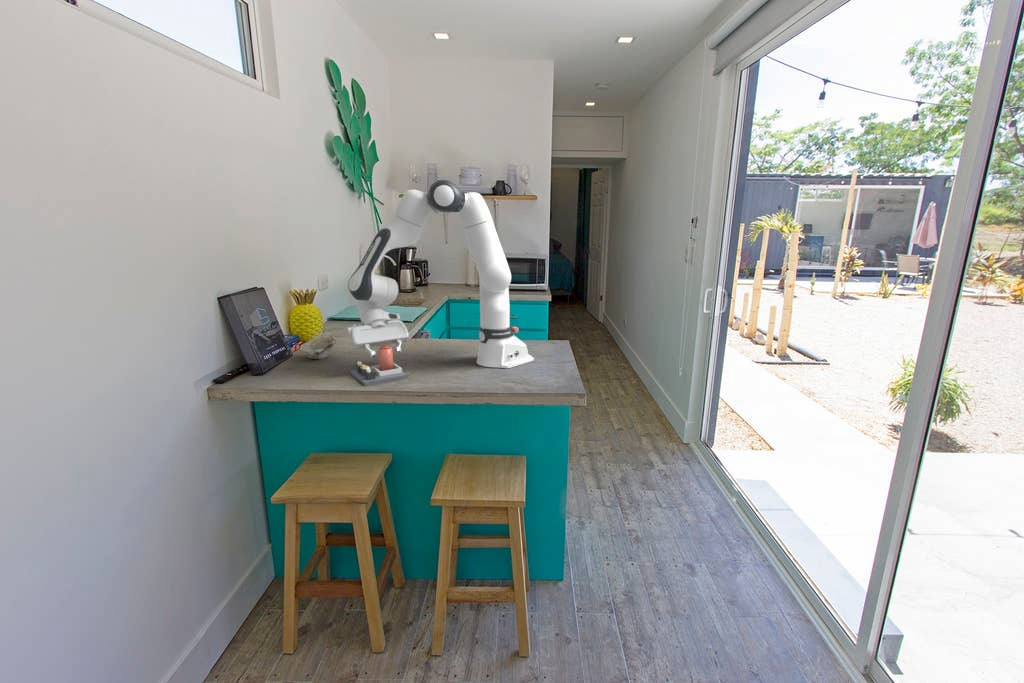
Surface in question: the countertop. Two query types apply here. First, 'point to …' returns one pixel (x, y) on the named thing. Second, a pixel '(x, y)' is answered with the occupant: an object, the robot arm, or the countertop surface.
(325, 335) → the stone
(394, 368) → the panel
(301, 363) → the countertop surface
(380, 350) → the cap
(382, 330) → the robot arm
